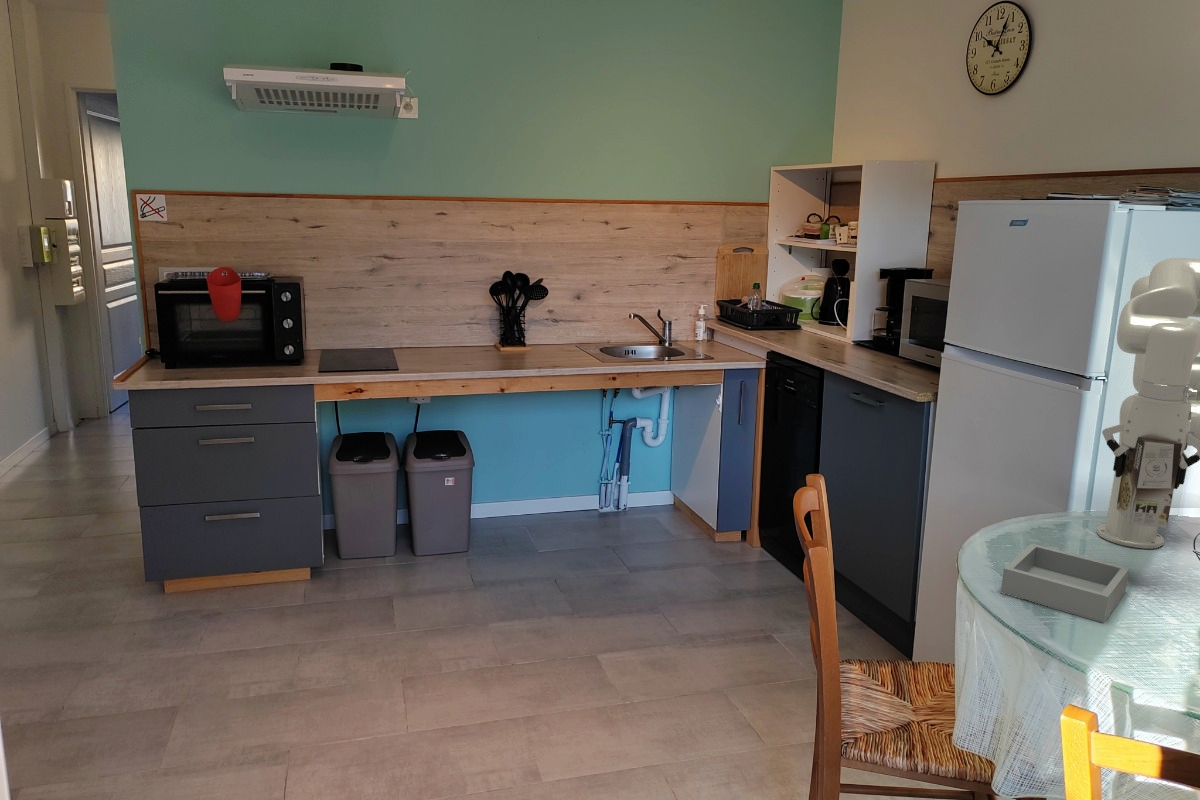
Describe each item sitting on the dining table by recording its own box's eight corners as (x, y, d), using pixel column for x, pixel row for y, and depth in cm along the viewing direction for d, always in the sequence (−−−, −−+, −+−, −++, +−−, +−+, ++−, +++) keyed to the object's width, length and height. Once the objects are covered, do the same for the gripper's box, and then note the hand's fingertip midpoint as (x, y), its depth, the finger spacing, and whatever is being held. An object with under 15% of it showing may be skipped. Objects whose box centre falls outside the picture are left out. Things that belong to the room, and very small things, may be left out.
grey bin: (1028, 566, 178) (1031, 543, 177) (1125, 592, 168) (1129, 568, 166) (1000, 592, 166) (1003, 568, 164) (1103, 623, 155) (1108, 596, 154)
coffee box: (1168, 528, 166) (1184, 444, 162) (1129, 525, 167) (1144, 441, 163) (1151, 511, 174) (1165, 430, 170) (1114, 507, 176) (1128, 427, 172)
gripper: (1222, 395, 162) (1205, 487, 166) (1114, 380, 173) (1100, 466, 177) (1216, 403, 156) (1198, 497, 161) (1105, 386, 167) (1090, 475, 172)
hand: (1147, 481), depth 169 cm, fingers closed on coffee box, 8 cm apart
